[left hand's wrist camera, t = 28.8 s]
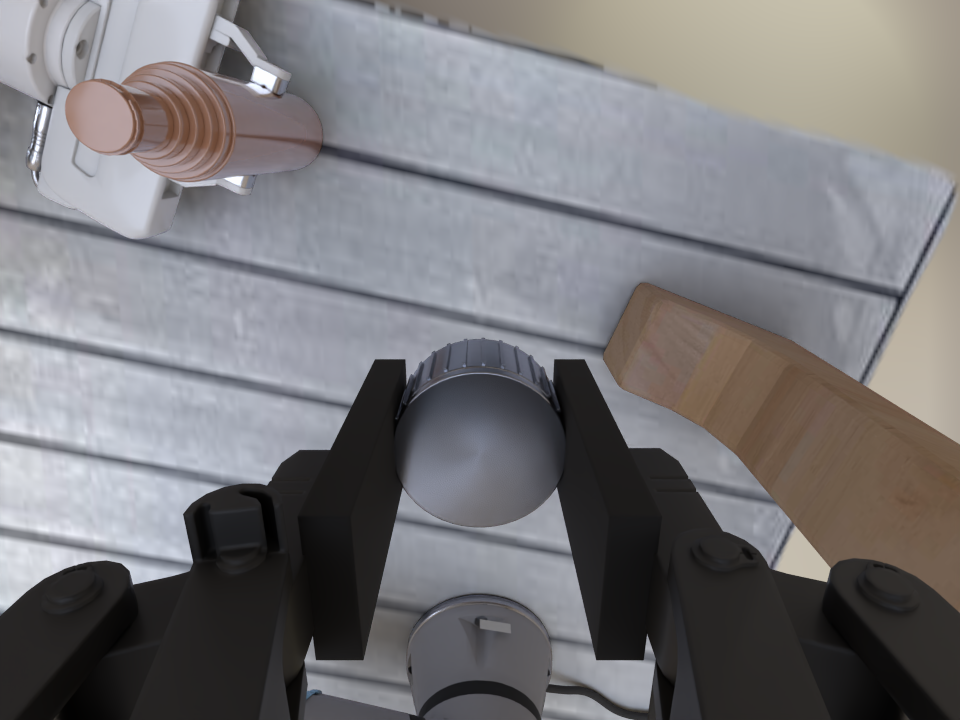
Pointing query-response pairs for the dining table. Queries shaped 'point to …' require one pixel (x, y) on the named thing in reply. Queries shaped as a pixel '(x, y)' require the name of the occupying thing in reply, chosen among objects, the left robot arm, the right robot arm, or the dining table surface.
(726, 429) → the decorative block
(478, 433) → the cap
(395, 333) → the dining table surface
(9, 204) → the dining table surface
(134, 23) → the right robot arm
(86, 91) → the bottle
